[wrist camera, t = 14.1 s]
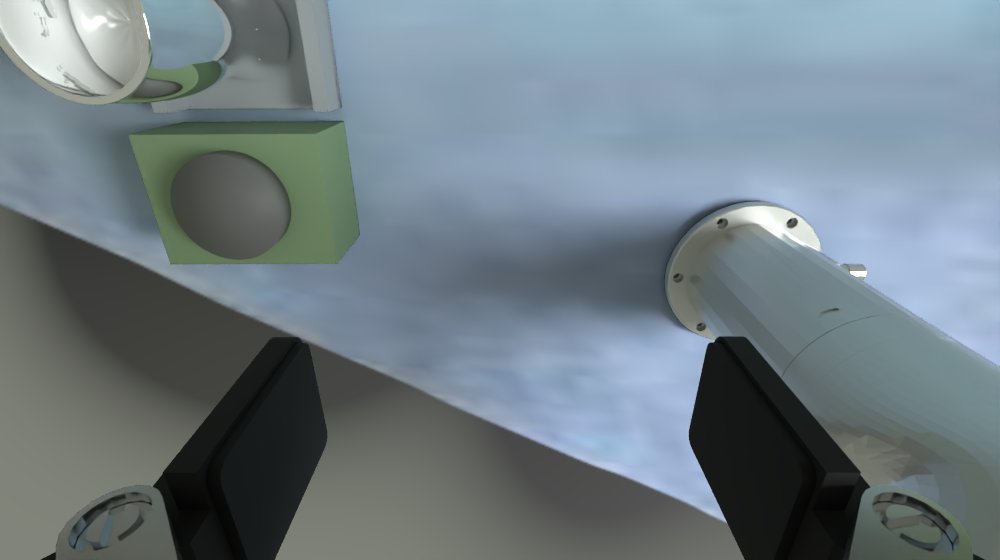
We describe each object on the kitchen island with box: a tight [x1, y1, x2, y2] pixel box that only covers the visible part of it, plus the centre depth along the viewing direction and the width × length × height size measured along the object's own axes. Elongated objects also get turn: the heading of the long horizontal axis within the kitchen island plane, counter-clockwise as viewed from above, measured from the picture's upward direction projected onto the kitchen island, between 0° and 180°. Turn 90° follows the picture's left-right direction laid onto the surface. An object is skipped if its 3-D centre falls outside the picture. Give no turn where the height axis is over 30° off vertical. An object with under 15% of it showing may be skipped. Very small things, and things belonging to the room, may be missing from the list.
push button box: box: [128, 0, 360, 264], centre depth 32 cm, size 12×22×8 cm, turn 0°
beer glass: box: [0, 0, 290, 105], centre depth 26 cm, size 7×7×15 cm
